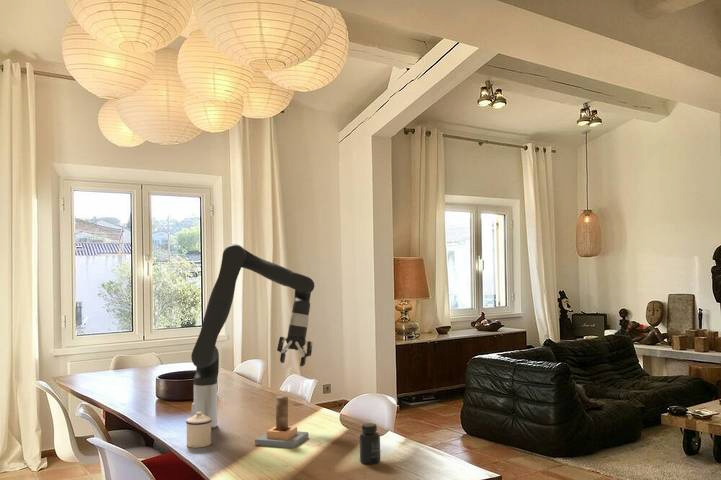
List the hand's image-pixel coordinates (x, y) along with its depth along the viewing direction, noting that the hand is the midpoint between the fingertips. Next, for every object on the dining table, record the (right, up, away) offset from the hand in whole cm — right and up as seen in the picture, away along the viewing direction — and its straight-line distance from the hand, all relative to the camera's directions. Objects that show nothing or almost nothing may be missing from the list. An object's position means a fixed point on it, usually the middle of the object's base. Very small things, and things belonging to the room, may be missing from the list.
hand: (292, 364), depth 252 cm
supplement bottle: (+31, -22, -50) cm, 63 cm away
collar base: (-1, -23, -25) cm, 34 cm away
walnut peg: (-1, -21, -25) cm, 33 cm away
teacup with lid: (-32, -24, -27) cm, 48 cm away
